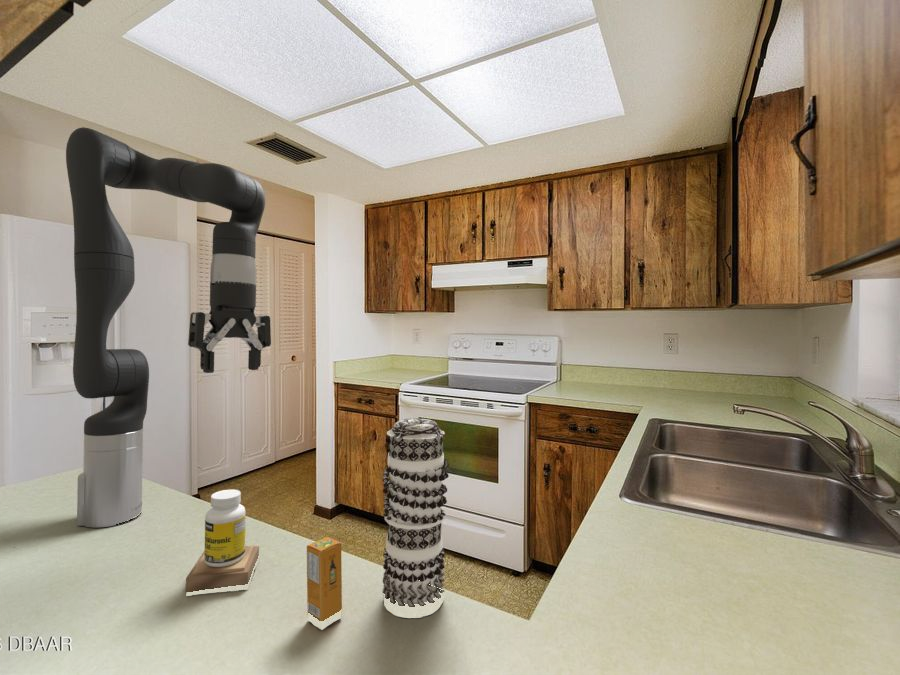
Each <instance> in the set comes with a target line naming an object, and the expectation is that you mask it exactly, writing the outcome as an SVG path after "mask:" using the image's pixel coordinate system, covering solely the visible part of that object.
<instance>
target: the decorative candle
mask: <svg viewBox="0 0 900 675" xmlns="http://www.w3.org/2000/svg"><path fill="white" fill-rule="evenodd" d="M445 434H446V433H445V431H444V430H442V429H441V428H440V427H439V425H438V423H437V422H436V421H435V420H431V419H427V418H418V417H417V418H413V417H412V418H405V419H400V420H398V421H396V422H395V423H394V425H393V426H392V428H391V429H389V430H388V431H386V435H387V436H388V437H389V440H388V447H389V448H388V453H387V465H385V466H384V472H383V475H382V476H383V477H382V482H383V486H382V487H383V488H382V493H384V496H385V497H384V499H383V501H384V502H383V505H382V506H383V512H384V513H383V517H384V521H385V522H386V523H387V535H386V541H385V548H384V552H383V558H384V560H383V562H384V563H383V566H382V567H383V569H384V572H383V577H382V584H383V588H382V594H383V593H384V594H385V598H386V599H389V598H390V602H391V603H393V604H395V603H396V601H397V602H398V605H399V606H405V604H408V606H409V607H415V605H414V604H419V605H420V606H424V605H426V604H425V603H424V602H427V601H428V602H429V603H434V602H435V601H434V600H433V598H435V597H436V598H438V599H439V598H441V595H440V594H439V592H440V593H443V592H444V593H445V589H444V588H443V587H444V586H445V585H444V582H445V581H446V580H445V577H443V576H444V575H445V573H444V571H443V570H444V569H445V564H444V563H445V561H444V560H445V556H446V553H445V548H444V547H443V535H442V525H443V524H442V522H443V521H444V520H445V519H446V513H445V510H444V509H442V507H443V506H445V505H446V504H447V503H448V500H447V497H446V496H444V495H445V494H446V493H447V492H448V487H447V486H446V485H445V484H444V483H442V482H444V481H445V480H446V479H448V478H449V473H448V472H447V471H446V470H445V469H446V468H448V467H450V462H448V460H447V459H445V453H444V435H445ZM419 580H420V581H419ZM429 584H430V585H429ZM431 585H433V586H431ZM434 586H435V587H434ZM437 587H438V588H437ZM439 588H441V589H444V590H441V589H439ZM440 590H441V591H440ZM395 600H396V601H395ZM404 603H405V604H404Z"/></svg>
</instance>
